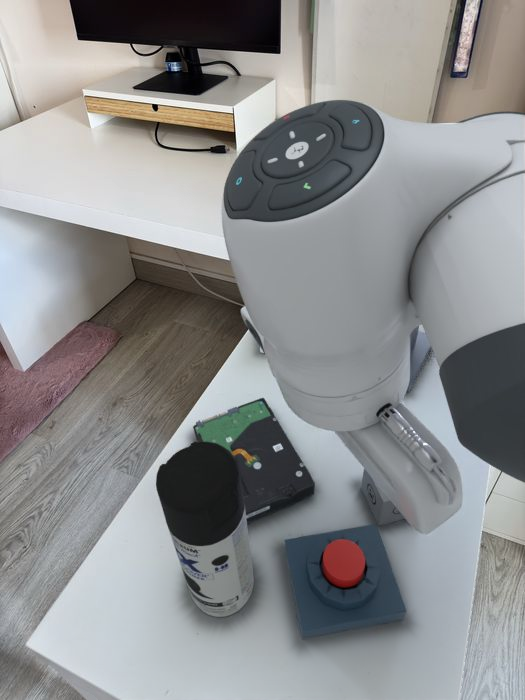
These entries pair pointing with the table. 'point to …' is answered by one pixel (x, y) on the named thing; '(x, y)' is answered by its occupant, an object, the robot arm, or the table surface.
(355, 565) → the button
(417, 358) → the bracket
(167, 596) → the table surface
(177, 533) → the spray can
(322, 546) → the button box
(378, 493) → the dice cube
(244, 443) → the disk drive
